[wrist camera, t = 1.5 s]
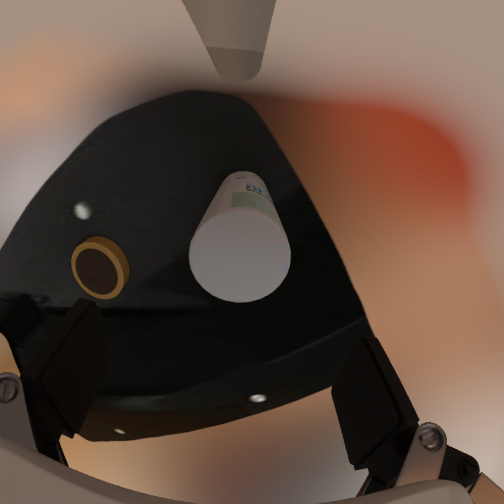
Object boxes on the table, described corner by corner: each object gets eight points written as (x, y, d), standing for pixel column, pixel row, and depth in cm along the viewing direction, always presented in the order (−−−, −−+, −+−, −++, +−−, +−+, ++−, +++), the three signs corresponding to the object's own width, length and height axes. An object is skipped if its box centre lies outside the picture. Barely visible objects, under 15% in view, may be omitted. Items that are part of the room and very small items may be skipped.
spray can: (208, 191, 35) (167, 255, 17) (246, 159, 33) (245, 187, 15) (240, 226, 37) (235, 318, 19) (277, 196, 36) (311, 265, 17)
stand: (76, 232, 37) (67, 238, 34) (128, 240, 38) (121, 247, 35) (82, 285, 41) (75, 293, 38) (131, 296, 42) (125, 305, 39)
